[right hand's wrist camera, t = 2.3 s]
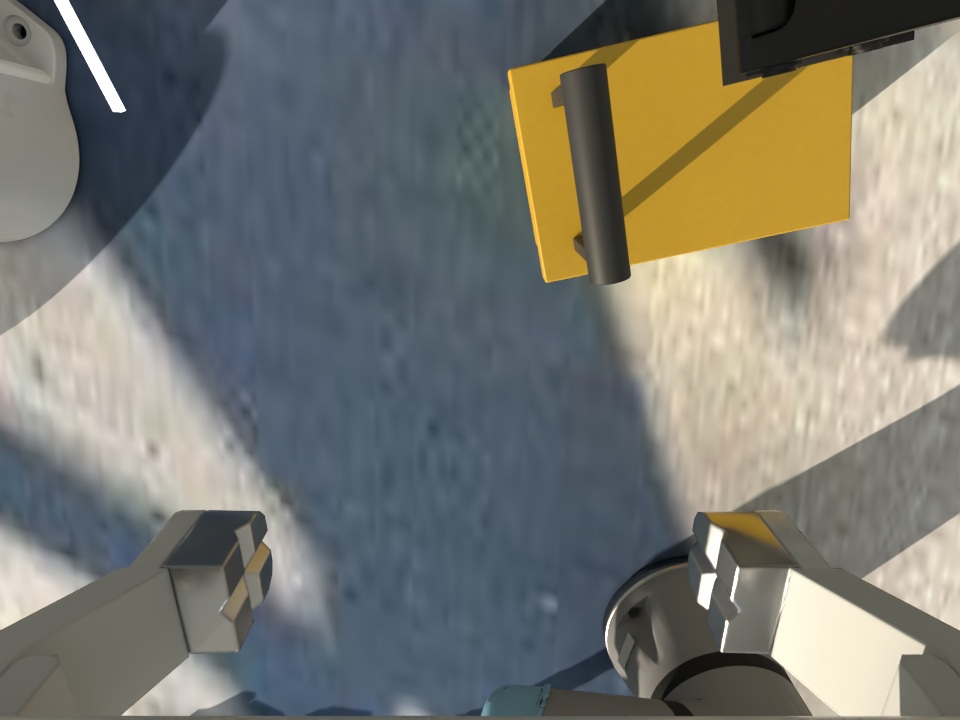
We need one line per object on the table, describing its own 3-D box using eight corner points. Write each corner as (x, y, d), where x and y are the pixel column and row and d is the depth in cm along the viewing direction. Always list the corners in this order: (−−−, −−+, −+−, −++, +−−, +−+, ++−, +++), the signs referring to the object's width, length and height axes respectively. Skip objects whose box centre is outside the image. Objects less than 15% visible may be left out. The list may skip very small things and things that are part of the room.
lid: (543, 278, 31) (567, 323, 23) (507, 72, 27) (521, 40, 19) (836, 216, 30) (967, 241, 22) (839, -6, 26) (998, -73, 18)
